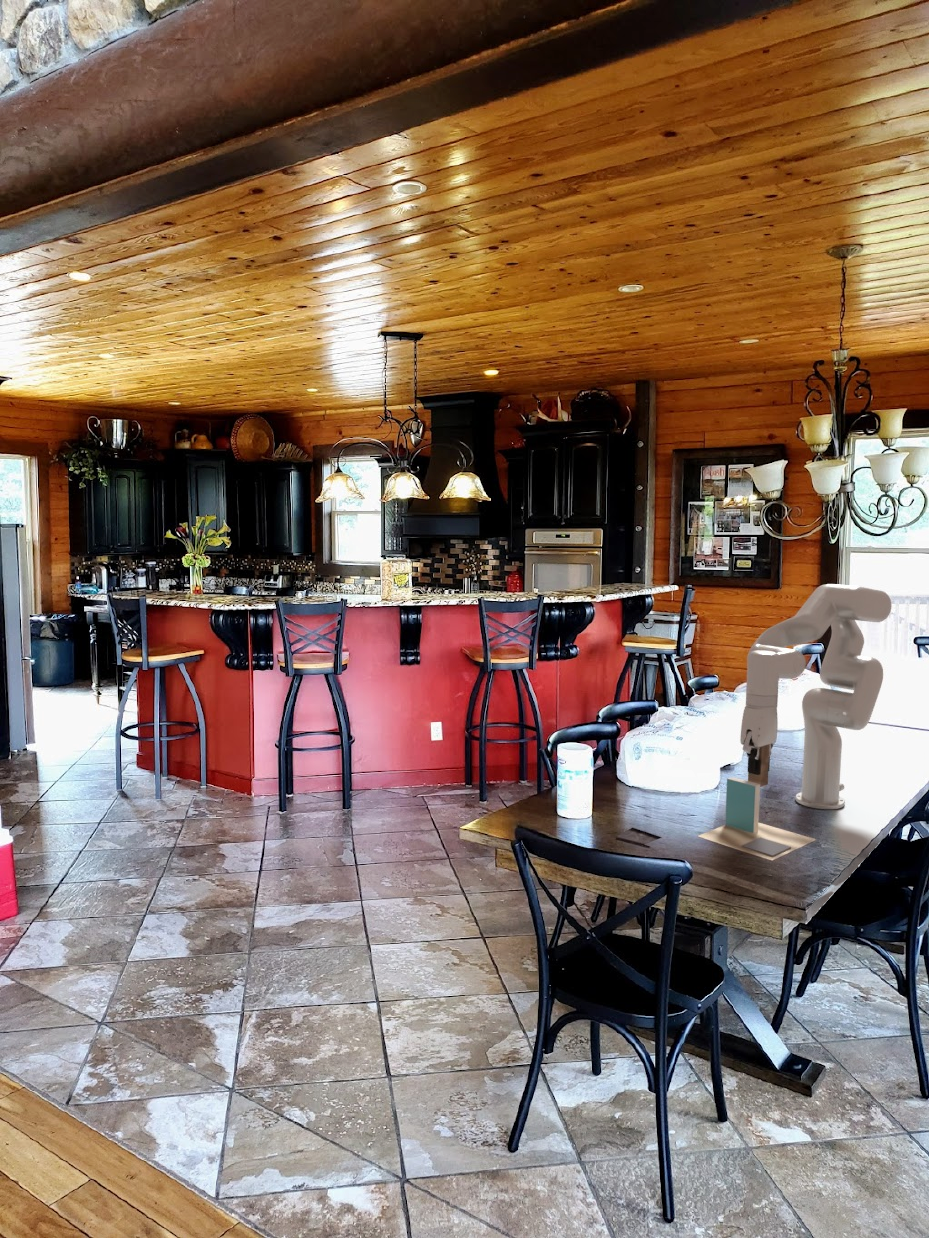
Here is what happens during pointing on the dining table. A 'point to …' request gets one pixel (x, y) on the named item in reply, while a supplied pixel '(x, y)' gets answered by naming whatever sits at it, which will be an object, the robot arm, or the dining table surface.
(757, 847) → the mat
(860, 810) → the dining table surface
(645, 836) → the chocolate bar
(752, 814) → the tile
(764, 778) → the brown wooden block
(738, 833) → the board
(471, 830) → the dining table surface
